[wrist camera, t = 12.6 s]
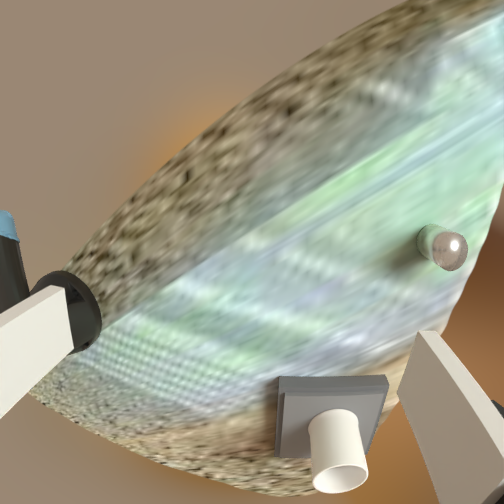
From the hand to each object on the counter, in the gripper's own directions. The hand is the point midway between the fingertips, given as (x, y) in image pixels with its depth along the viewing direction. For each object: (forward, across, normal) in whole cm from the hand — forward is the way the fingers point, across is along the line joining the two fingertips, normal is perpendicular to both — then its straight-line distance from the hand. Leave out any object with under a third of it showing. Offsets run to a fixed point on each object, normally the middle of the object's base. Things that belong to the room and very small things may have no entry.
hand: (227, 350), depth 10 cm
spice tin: (+34, +24, -1) cm, 42 cm away
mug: (+30, +14, -34) cm, 48 cm away
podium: (+34, +14, -34) cm, 50 cm away
